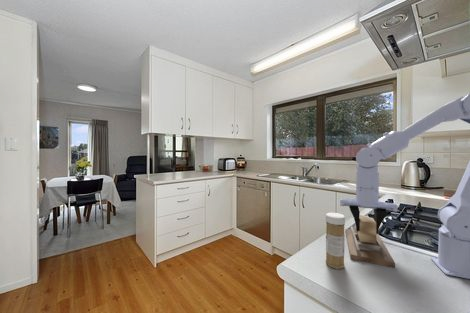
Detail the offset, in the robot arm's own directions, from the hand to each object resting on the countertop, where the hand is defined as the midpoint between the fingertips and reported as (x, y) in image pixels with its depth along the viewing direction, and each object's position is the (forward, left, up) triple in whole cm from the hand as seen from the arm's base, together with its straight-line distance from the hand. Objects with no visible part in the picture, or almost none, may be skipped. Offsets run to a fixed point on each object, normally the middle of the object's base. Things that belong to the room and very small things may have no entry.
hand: (366, 231), depth 61 cm
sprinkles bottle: (+9, +14, -6) cm, 17 cm away
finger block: (0, 0, -2) cm, 2 cm away
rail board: (0, -1, -5) cm, 6 cm away
